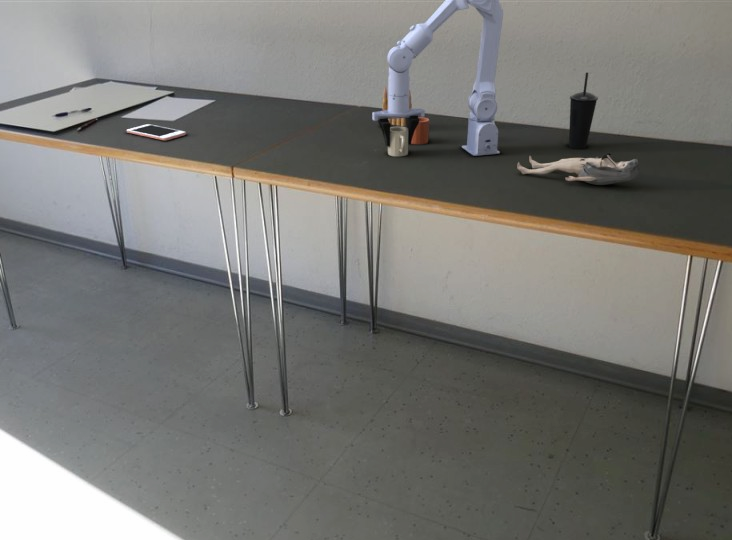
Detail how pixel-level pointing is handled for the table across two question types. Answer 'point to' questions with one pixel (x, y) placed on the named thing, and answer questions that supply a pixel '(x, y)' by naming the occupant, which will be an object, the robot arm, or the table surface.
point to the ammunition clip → (398, 121)
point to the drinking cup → (581, 117)
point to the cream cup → (398, 141)
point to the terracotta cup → (421, 132)
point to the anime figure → (589, 169)
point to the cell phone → (156, 132)
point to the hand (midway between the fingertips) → (398, 144)
